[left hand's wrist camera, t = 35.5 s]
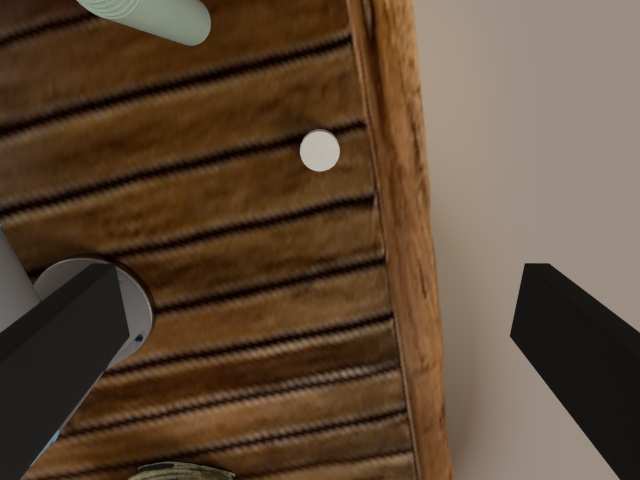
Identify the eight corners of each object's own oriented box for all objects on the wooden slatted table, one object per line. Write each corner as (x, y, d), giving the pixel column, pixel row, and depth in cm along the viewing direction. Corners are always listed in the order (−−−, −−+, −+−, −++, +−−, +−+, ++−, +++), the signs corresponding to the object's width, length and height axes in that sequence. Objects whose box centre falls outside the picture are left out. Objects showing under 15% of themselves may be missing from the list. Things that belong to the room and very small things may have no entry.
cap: (343, 160, 46) (344, 163, 43) (308, 172, 46) (307, 176, 44) (331, 123, 44) (332, 125, 42) (295, 136, 45) (294, 139, 42)
